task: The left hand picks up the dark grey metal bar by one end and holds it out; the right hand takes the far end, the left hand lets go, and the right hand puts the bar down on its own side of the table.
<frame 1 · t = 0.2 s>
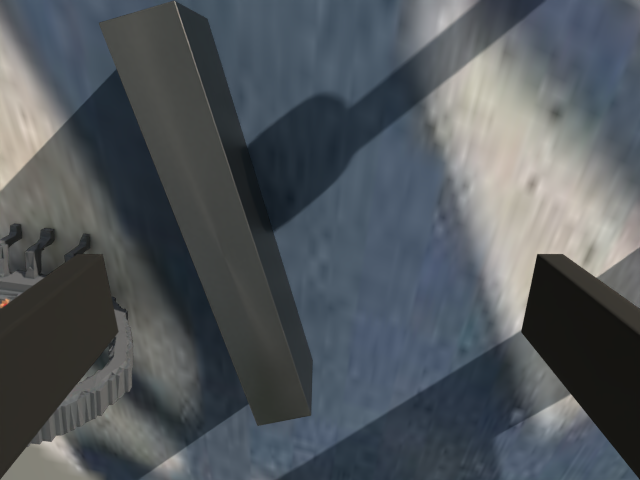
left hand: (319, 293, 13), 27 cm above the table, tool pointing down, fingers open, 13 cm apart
bar: (242, 221, 41), on the table
toy: (43, 281, 43), on the table
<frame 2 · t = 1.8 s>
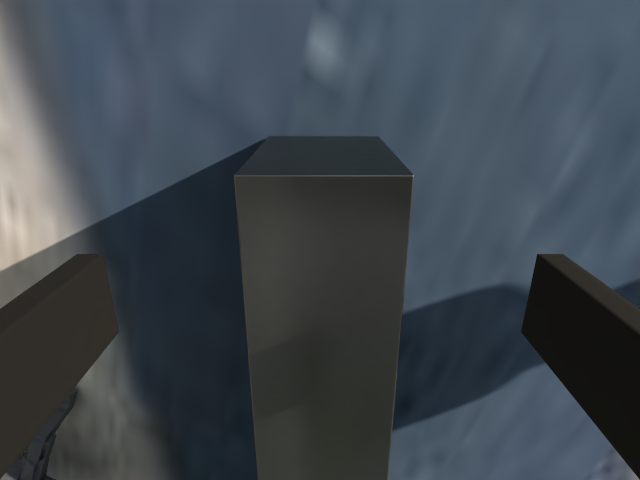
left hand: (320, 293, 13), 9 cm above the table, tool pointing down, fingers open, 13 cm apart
bar: (322, 419, 26), on the table
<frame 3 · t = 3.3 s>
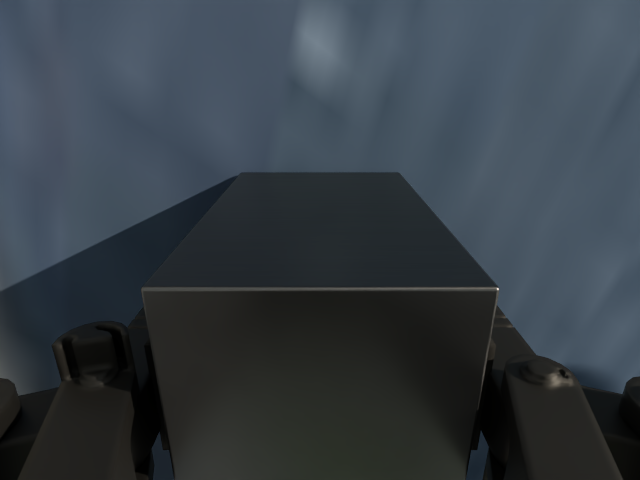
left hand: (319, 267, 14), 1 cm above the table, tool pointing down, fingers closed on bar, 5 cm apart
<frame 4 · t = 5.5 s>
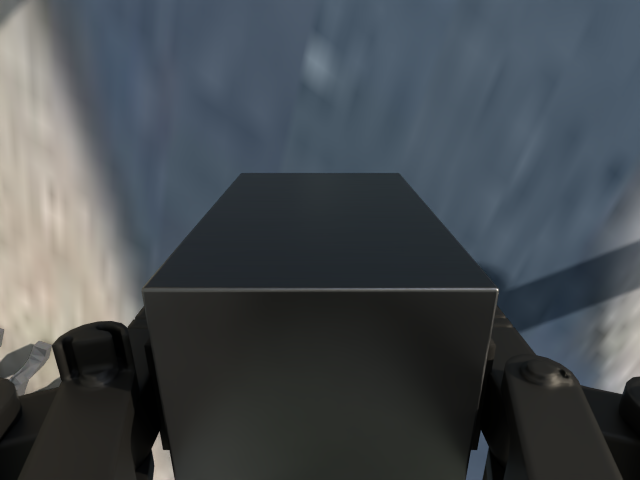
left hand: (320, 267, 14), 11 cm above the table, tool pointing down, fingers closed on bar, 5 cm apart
toy: (17, 401, 30), on the table
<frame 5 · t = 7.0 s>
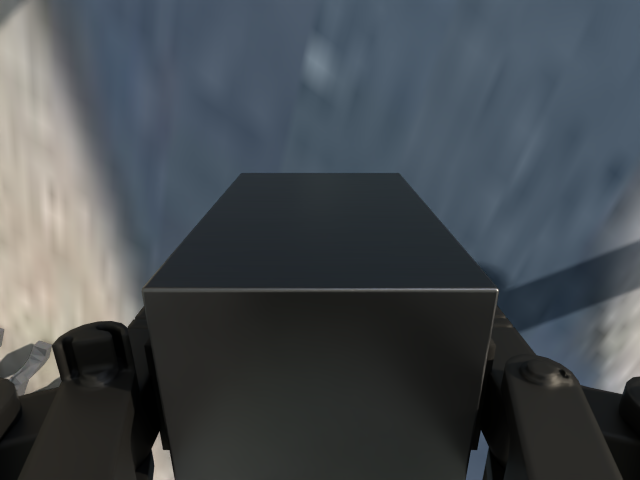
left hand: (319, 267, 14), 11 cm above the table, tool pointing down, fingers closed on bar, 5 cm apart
toy: (17, 401, 30), on the table
when the left hand's fingers open (11 cm above the table, at t = 7.8 s): bar stays where it is, held by the right hand.
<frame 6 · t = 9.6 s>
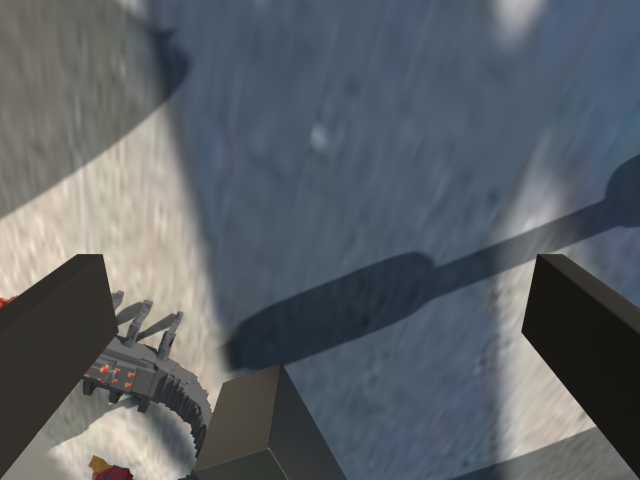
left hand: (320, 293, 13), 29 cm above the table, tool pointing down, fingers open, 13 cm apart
toy: (126, 340, 47), on the table
when the right hand's fingers open (2 cm above the table, at t = 12.3 s): bar stays where it is, on the table.
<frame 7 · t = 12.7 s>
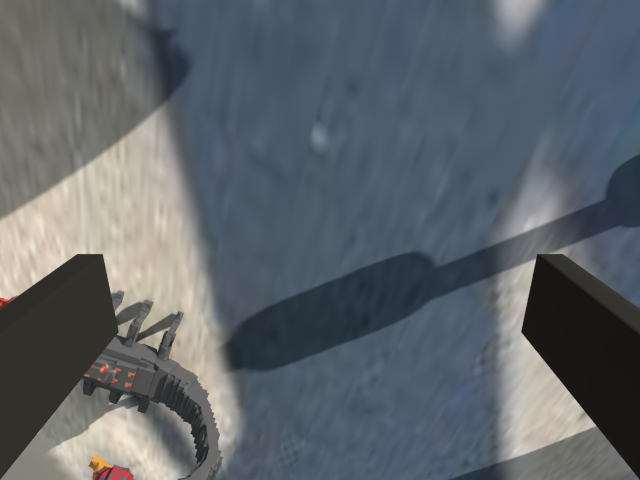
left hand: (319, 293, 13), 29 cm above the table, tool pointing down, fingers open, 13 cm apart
toy: (126, 340, 47), on the table
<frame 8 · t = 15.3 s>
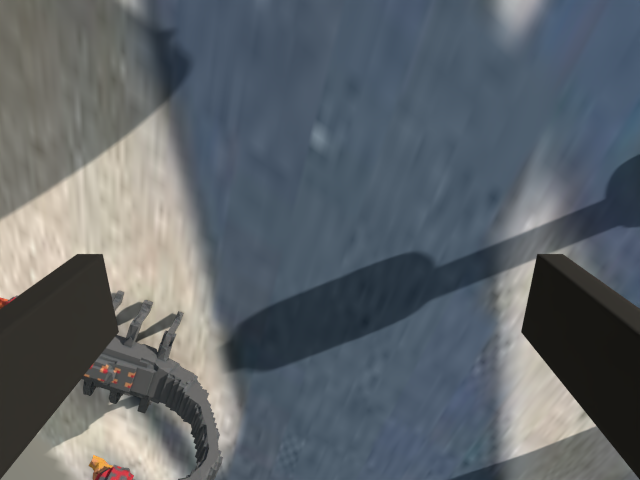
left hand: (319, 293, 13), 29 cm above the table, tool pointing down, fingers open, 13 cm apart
toy: (126, 340, 47), on the table
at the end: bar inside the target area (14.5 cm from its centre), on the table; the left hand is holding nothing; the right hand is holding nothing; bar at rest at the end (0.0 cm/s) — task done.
